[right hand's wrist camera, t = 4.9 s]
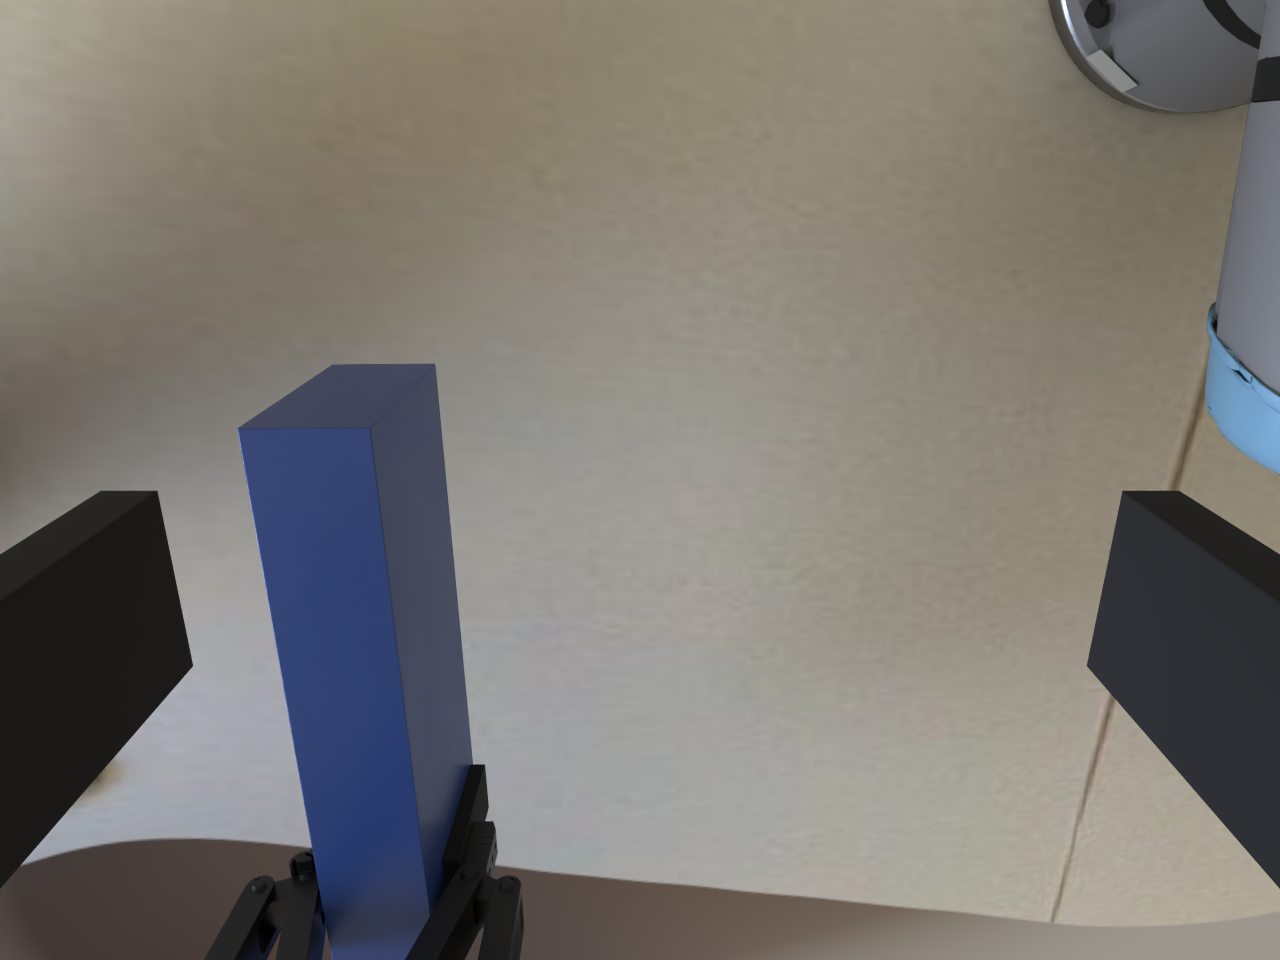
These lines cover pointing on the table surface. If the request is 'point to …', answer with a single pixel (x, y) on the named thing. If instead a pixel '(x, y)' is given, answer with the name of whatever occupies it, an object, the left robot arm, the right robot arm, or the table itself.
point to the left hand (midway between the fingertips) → (428, 786)
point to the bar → (365, 638)
